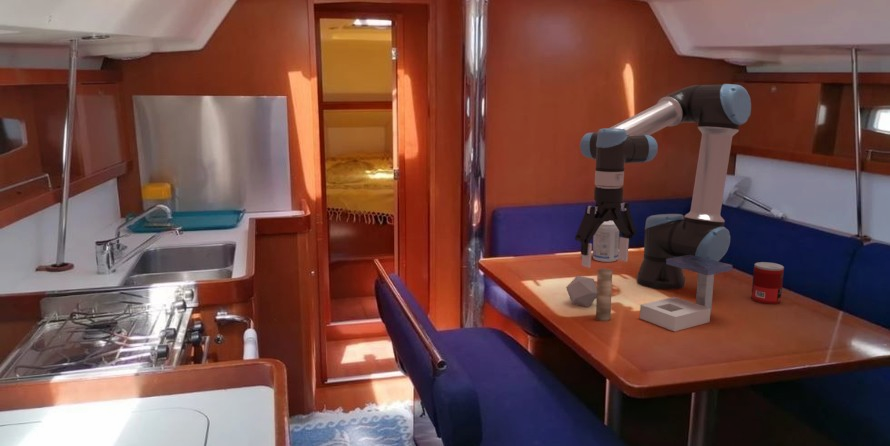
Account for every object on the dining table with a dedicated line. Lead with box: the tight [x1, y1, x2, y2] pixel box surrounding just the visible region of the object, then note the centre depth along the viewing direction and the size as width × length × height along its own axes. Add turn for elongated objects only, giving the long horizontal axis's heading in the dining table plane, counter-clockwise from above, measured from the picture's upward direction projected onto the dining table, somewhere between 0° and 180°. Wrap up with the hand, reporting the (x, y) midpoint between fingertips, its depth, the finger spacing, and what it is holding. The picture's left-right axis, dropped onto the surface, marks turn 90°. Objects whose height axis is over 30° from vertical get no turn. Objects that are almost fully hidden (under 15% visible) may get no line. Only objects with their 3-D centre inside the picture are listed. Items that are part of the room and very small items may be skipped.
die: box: [565, 275, 597, 307], centre depth 190 cm, size 8×9×10 cm
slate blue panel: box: [666, 255, 733, 315], centre depth 179 cm, size 14×10×16 cm
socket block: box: [639, 296, 712, 332], centre depth 176 cm, size 12×14×4 cm
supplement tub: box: [592, 221, 620, 263], centre depth 241 cm, size 10×10×15 cm
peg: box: [595, 267, 613, 322], centre depth 176 cm, size 4×4×14 cm
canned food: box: [751, 261, 785, 305], centre depth 192 cm, size 8×8×11 cm
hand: (604, 263), depth 174 cm, fingers open, 13 cm apart
